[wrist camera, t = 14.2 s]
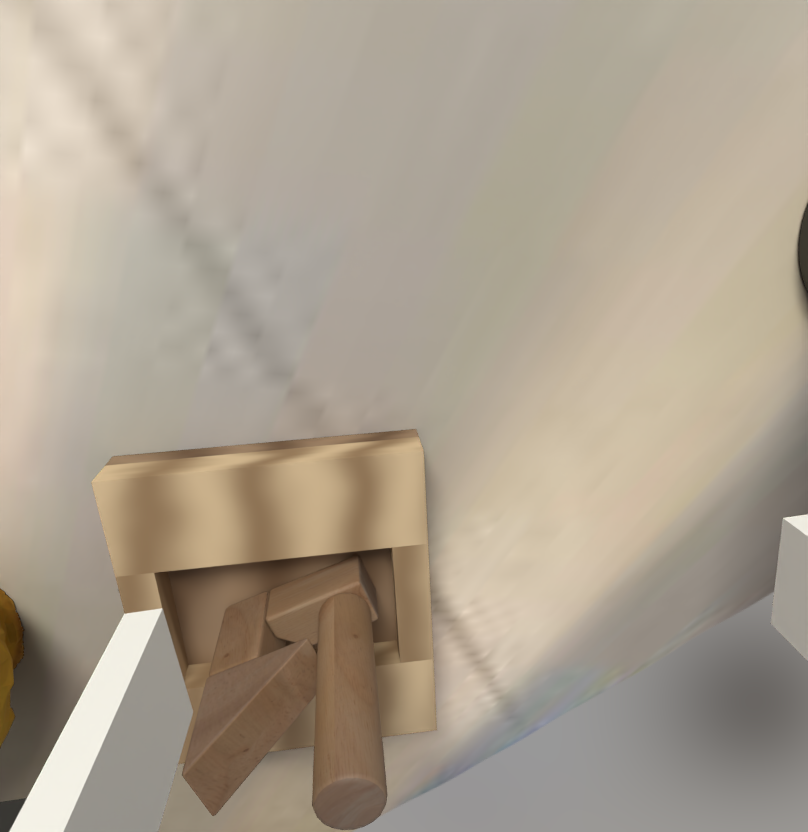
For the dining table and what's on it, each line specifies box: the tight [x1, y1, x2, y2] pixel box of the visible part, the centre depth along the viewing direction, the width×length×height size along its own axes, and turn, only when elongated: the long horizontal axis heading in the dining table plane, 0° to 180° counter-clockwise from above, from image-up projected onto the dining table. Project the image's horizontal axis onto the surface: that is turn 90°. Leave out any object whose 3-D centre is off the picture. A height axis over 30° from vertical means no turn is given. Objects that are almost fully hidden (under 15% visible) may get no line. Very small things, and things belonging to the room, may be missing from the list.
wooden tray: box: [91, 429, 437, 764], centre depth 45 cm, size 21×24×4 cm
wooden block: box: [182, 555, 387, 830], centre depth 38 cm, size 4×11×18 cm, turn 112°
